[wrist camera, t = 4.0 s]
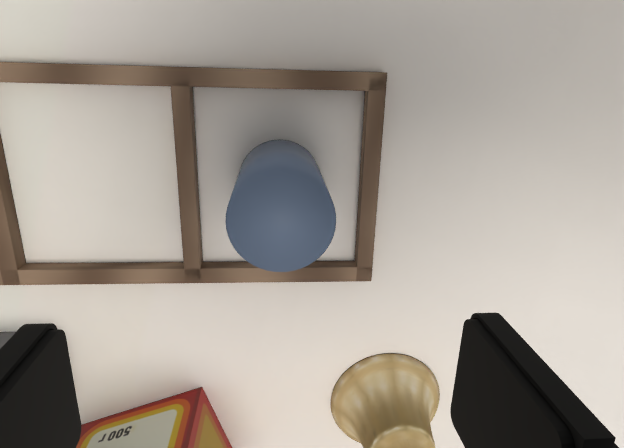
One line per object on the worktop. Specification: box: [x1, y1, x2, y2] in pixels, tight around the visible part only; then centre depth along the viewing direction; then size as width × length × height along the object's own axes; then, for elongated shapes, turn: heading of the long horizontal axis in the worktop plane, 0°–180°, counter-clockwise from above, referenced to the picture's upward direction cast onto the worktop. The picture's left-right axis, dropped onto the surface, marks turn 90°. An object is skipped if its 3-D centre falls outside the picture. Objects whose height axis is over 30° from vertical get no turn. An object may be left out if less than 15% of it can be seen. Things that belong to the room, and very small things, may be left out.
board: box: [0, 62, 387, 285], centre depth 27 cm, size 34×13×1 cm, turn 89°
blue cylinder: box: [226, 140, 336, 272], centre depth 24 cm, size 5×5×8 cm
